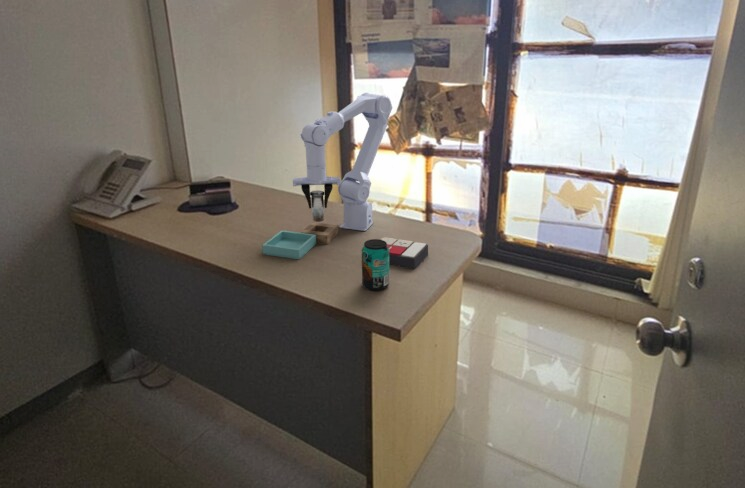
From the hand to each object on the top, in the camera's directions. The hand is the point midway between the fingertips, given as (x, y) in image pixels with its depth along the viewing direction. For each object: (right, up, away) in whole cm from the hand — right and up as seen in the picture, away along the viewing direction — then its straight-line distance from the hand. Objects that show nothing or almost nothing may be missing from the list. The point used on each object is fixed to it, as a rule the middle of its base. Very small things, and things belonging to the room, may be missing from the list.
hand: (317, 207), depth 152 cm
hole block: (0, -9, +4) cm, 10 cm away
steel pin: (0, -4, +2) cm, 4 cm away
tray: (-8, -13, -4) cm, 16 cm away
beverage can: (+18, -23, -25) cm, 38 cm away
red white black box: (+25, -16, -9) cm, 31 cm away
